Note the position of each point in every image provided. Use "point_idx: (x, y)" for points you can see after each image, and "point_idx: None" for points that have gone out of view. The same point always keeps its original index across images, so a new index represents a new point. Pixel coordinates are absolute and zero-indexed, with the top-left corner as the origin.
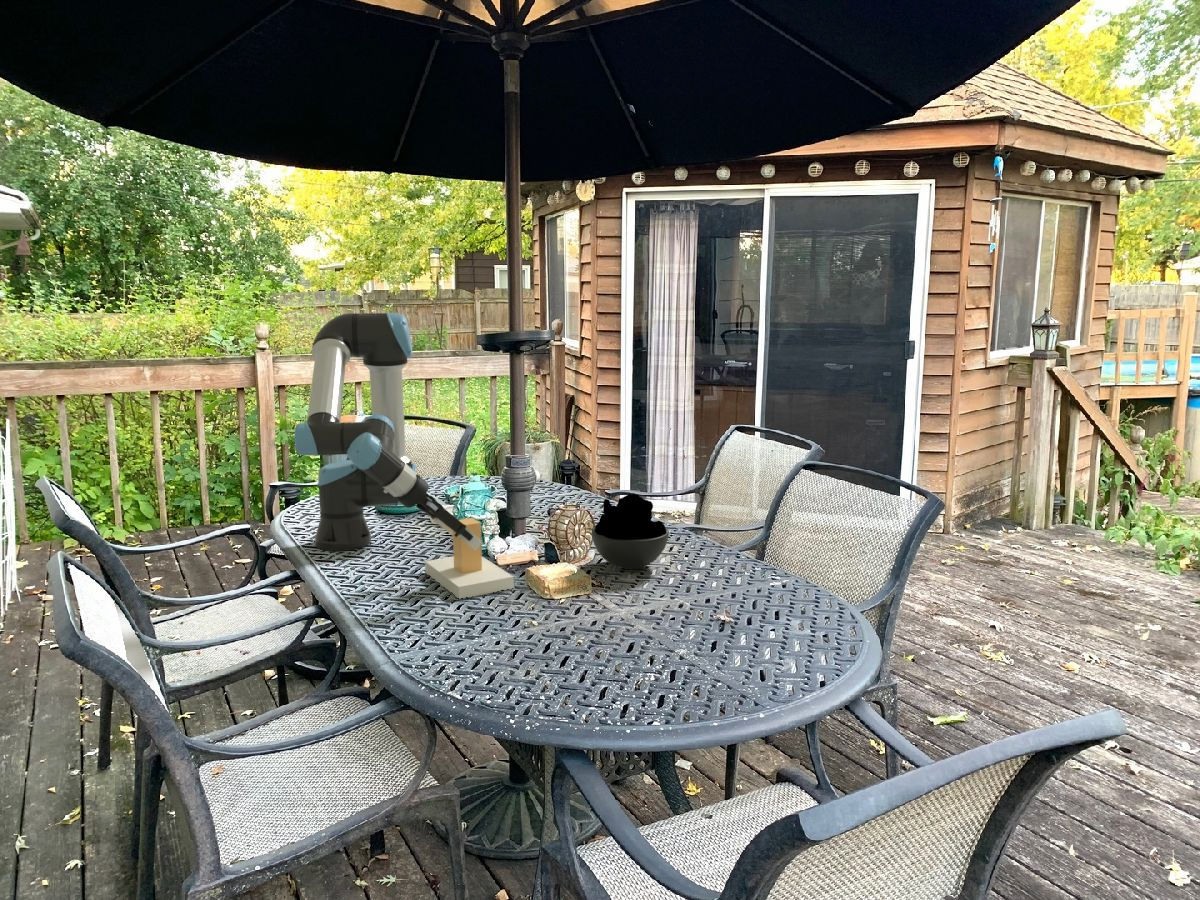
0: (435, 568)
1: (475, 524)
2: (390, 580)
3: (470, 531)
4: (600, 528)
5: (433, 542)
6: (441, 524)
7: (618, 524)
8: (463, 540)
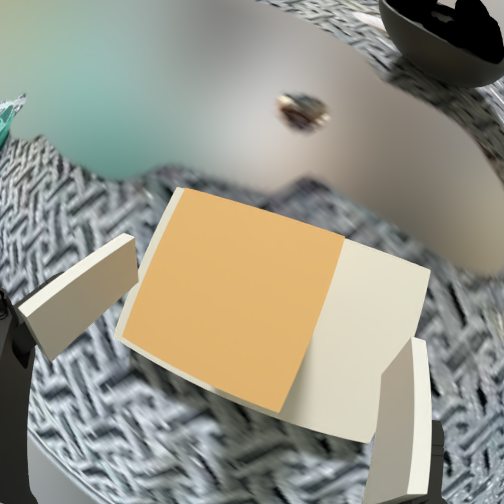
0: (179, 373)
1: (327, 284)
2: (115, 421)
3: (428, 435)
4: (430, 24)
5: (50, 183)
6: (75, 333)
7: (498, 38)
8: (375, 450)
